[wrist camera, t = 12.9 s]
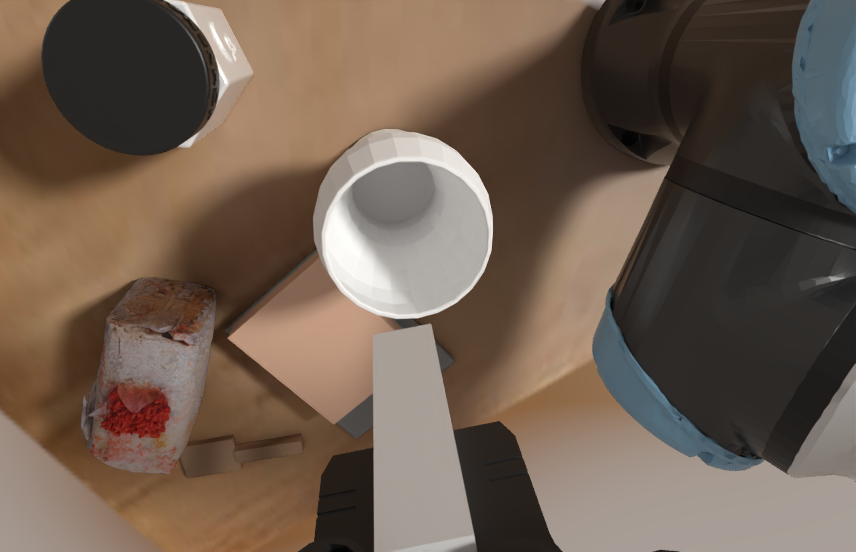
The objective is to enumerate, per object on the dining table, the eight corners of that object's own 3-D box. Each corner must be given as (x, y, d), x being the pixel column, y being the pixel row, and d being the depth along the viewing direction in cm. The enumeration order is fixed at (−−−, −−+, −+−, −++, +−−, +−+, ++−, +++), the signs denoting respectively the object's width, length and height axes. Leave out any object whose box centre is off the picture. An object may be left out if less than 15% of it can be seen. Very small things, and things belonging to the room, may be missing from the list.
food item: (205, 421, 52) (175, 503, 43) (110, 407, 50) (57, 490, 41) (227, 286, 47) (199, 347, 38) (123, 266, 45) (67, 325, 36)
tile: (420, 355, 48) (319, 258, 44) (333, 424, 50) (227, 338, 45) (417, 341, 50) (320, 247, 46) (334, 408, 52) (233, 324, 47)
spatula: (298, 424, 53) (297, 431, 52) (306, 455, 54) (305, 462, 53) (178, 443, 52) (175, 450, 51) (189, 473, 54) (186, 481, 53)
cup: (378, 266, 48) (390, 360, 34) (293, 166, 44) (267, 227, 30) (482, 190, 46) (538, 256, 33) (404, 79, 42) (430, 102, 29)
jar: (272, 101, 42) (244, 126, 31) (171, 146, 42) (109, 187, 31) (206, -28, 38) (148, -51, 27) (97, 23, 38) (-4, 20, 27)
